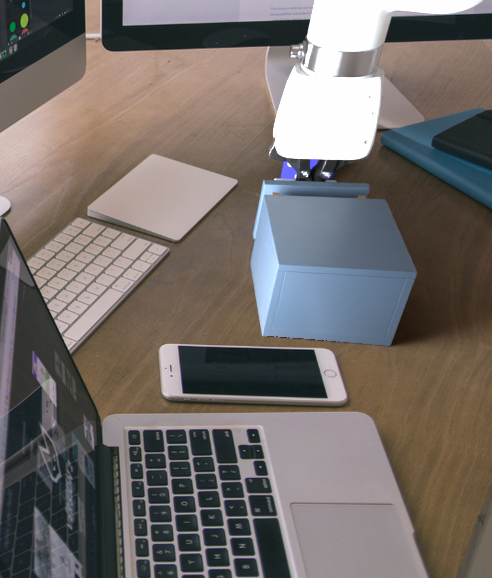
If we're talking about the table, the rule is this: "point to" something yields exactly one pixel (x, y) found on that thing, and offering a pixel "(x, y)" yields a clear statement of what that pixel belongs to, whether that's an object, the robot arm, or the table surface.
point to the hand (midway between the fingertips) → (305, 201)
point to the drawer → (310, 190)
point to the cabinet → (330, 269)
